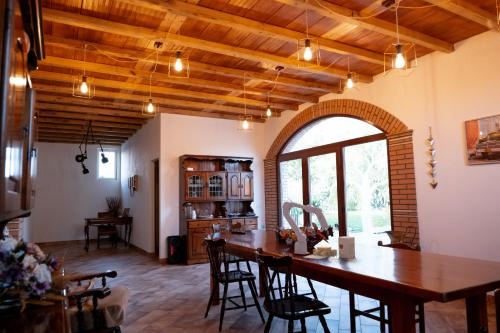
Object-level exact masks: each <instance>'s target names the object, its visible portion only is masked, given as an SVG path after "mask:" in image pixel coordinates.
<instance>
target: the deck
mask: <svg viewBox="0 0 500 333" xmlns="http://www.w3.org/2000/svg"><path fill="white" fill-rule="evenodd" d="M312 255H319V256H328V257H327V258H330V257H334V256H337V255H338V249H335V248H331V250H329V251H324V250H317V248H315V249H312Z"/></svg>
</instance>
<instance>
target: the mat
mask: <svg viewBox="0 0 500 333" xmlns="http://www.w3.org/2000/svg"><path fill="white" fill-rule="evenodd" d="M303 258H305V259H312V260H313V259H314V260H322V259H326V258H329V257H328V256H319V255H313V254H309V255H306V256H303Z"/></svg>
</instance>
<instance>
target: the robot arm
mask: <svg viewBox="0 0 500 333" xmlns="http://www.w3.org/2000/svg"><path fill="white" fill-rule="evenodd" d="M281 207H282V215H283V217H284V219H285V220H286V221H287V223H288V224H289V227H291V228H290V229H292V230H293V232H294V233H295V236H296V239H297V241H295V242H294V254H296V255H297V254H299V255H308V254H310V252H308V246H307V245H308V244H307V237H308V236H307V235H306V234H305V233H304V232H303V231H302V230H301V228H300V227H299V226H298V224H297V223H296V221H295V220H294V218H293V217H292V216H291V214H290V212H291V210H292V208H297V209H301V210H304V211H305V212H306V213H310V214H314V215H315V216H316V217H317V218H316V219H317V221H318V223H319V225H320V227H321V228H320V229H319V233H320V234H321V235H322V236H323V237H324V238H325V239H326V241H327V240H329V239H330V238H329V236H330V237H331V238H333V237H334V226H332V225H331V224H328V221H327V219H326V216H325V215H324V213H323V210H322V208H320V207H318V206H316V205H315V206H313V205H311V204H306V205H304V204H301V203H298V202H294V201H289V200H288V201H284V202H283V204H282V206H281ZM328 234H329V235H328Z"/></svg>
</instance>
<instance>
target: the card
mask: <svg viewBox="0 0 500 333" xmlns="http://www.w3.org/2000/svg"><path fill="white" fill-rule="evenodd" d="M316 249H317V250H324V251H329V250H331V249H332V247H331V246H323V245H322V246H316Z"/></svg>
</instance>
